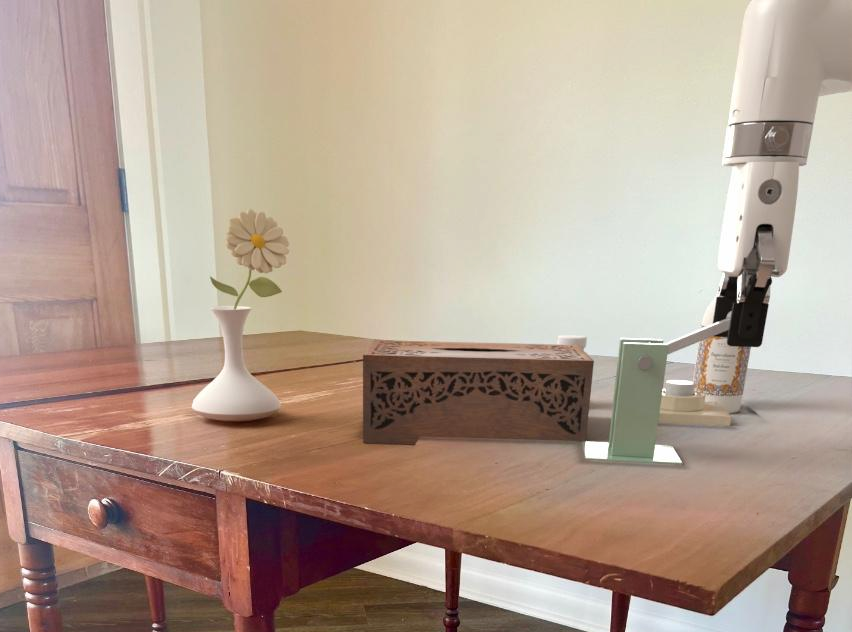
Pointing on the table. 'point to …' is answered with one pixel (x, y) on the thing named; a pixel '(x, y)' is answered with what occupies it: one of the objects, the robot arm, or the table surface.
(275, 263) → the flower in vase
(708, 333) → the flush lever
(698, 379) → the bath foam
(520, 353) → the tissue box cover
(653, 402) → the lever bracket
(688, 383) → the flush button
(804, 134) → the robot arm
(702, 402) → the cream pedestal base
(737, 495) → the table surface
